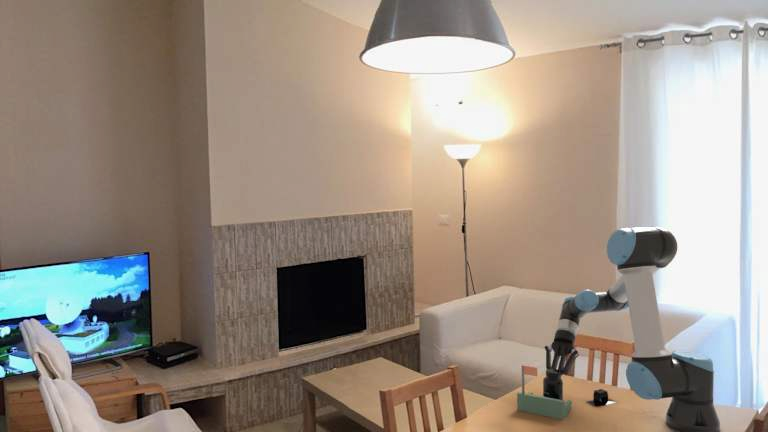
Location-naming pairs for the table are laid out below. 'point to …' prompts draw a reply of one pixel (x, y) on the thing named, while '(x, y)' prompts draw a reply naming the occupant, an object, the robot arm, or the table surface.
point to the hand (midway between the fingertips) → (551, 389)
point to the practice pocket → (540, 400)
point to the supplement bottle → (553, 384)
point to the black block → (600, 398)
